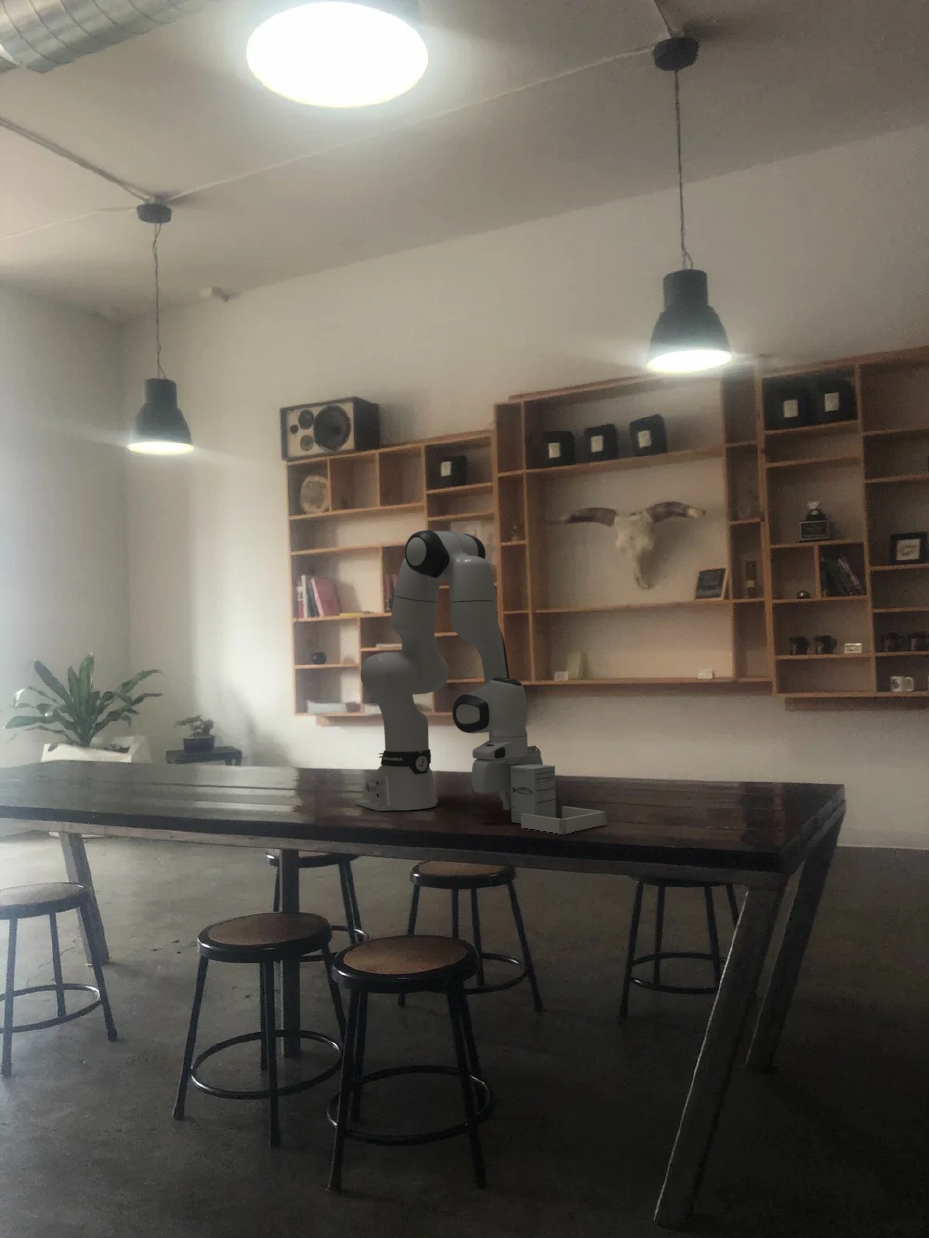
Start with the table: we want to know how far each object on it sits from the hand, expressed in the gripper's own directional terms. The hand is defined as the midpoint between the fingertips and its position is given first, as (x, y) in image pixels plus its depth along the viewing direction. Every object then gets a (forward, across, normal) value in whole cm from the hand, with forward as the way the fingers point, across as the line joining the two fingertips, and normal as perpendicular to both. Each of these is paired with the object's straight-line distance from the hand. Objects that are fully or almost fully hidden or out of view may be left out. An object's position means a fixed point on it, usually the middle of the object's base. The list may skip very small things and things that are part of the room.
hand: (510, 809), depth 216 cm
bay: (+2, 0, +16) cm, 17 cm away
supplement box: (+2, 0, +8) cm, 8 cm away
